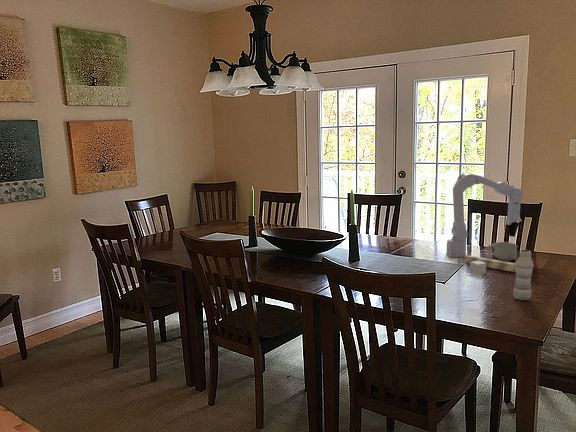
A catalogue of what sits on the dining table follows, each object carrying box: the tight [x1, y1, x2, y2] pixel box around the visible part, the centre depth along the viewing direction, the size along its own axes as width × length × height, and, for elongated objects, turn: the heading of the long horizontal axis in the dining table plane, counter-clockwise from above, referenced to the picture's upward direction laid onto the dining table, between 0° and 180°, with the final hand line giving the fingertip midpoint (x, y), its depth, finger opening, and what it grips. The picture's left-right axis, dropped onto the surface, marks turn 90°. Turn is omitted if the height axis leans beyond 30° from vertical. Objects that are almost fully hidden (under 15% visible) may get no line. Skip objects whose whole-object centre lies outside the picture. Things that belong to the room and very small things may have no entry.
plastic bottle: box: [512, 249, 535, 301], centre depth 188 cm, size 6×7×20 cm
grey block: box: [469, 261, 487, 276], centre depth 225 cm, size 5×5×5 cm
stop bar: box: [461, 254, 516, 273], centre depth 234 cm, size 26×2×4 cm, turn 46°
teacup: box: [487, 241, 518, 262], centre depth 246 cm, size 14×11×8 cm
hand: (512, 236), depth 251 cm, fingers closed
